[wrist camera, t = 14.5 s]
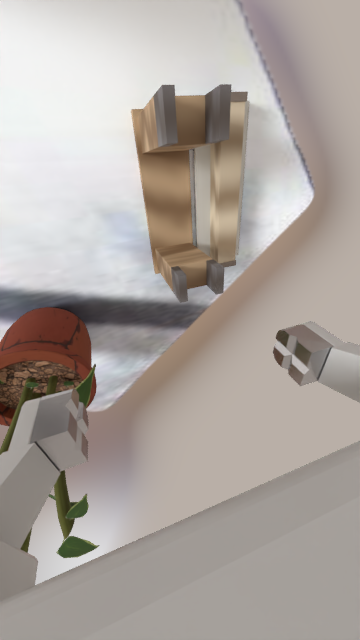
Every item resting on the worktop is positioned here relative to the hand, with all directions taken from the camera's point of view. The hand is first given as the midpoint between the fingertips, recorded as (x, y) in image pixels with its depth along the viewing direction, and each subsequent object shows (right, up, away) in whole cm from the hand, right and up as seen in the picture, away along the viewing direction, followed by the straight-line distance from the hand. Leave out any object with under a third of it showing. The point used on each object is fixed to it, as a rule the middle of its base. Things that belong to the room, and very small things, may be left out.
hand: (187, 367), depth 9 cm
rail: (+6, +22, +26) cm, 35 cm away
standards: (-2, +20, +25) cm, 32 cm away
